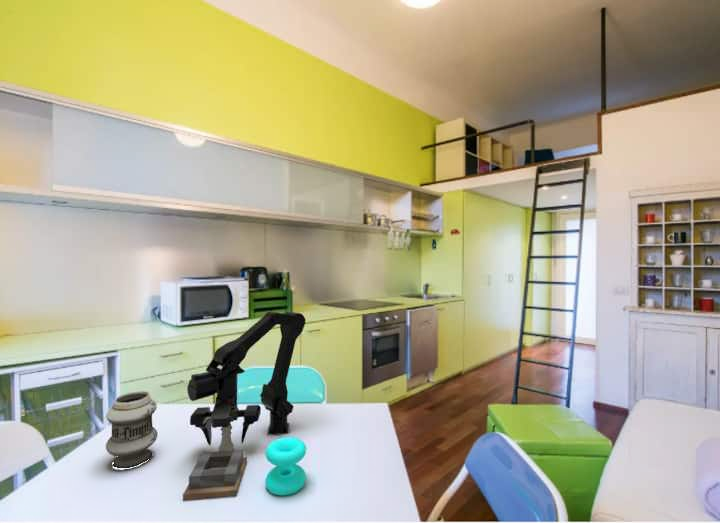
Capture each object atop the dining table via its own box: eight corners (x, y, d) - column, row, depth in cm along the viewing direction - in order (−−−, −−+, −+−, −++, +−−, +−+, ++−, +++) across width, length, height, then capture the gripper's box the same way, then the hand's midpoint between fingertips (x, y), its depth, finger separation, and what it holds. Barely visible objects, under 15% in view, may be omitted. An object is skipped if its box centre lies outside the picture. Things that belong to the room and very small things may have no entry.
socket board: (201, 465, 94) (201, 449, 94) (247, 462, 95) (247, 446, 95) (182, 500, 80) (183, 481, 80) (236, 496, 82) (236, 477, 82)
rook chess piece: (237, 450, 101) (237, 423, 101) (225, 458, 97) (226, 430, 97) (226, 446, 103) (226, 420, 103) (214, 454, 99) (214, 426, 99)
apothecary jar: (101, 460, 96) (102, 396, 96) (149, 443, 104) (150, 385, 104) (111, 479, 87) (112, 409, 87) (163, 459, 96) (164, 396, 96)
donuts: (302, 456, 81) (260, 455, 81) (301, 498, 81) (259, 497, 81) (309, 435, 91) (272, 434, 91) (309, 473, 91) (271, 471, 91)
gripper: (183, 403, 91) (182, 461, 91) (255, 400, 94) (254, 456, 94) (196, 387, 102) (196, 440, 102) (261, 385, 105) (260, 436, 105)
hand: (226, 443), depth 100 cm, fingers open, 9 cm apart
